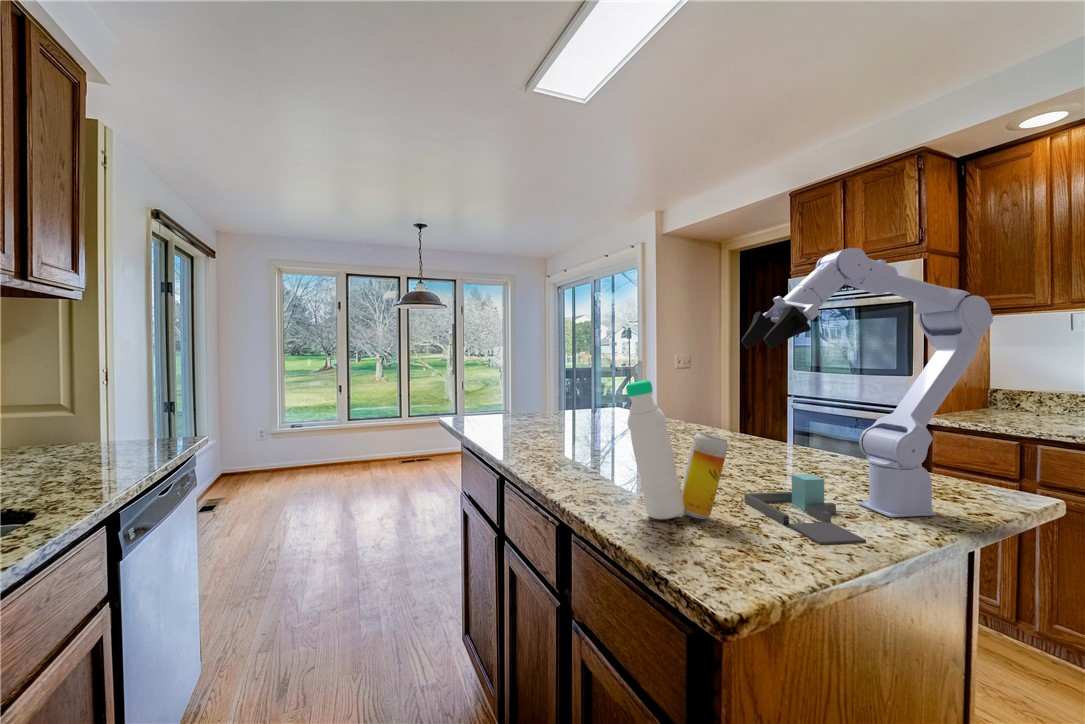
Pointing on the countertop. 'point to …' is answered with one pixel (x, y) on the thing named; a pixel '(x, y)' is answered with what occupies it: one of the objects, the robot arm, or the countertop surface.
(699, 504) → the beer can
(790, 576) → the countertop surface
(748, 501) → the outer rail
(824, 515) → the rail
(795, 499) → the teal block
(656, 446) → the water bottle
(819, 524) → the rubber pad
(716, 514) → the countertop surface
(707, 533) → the countertop surface
